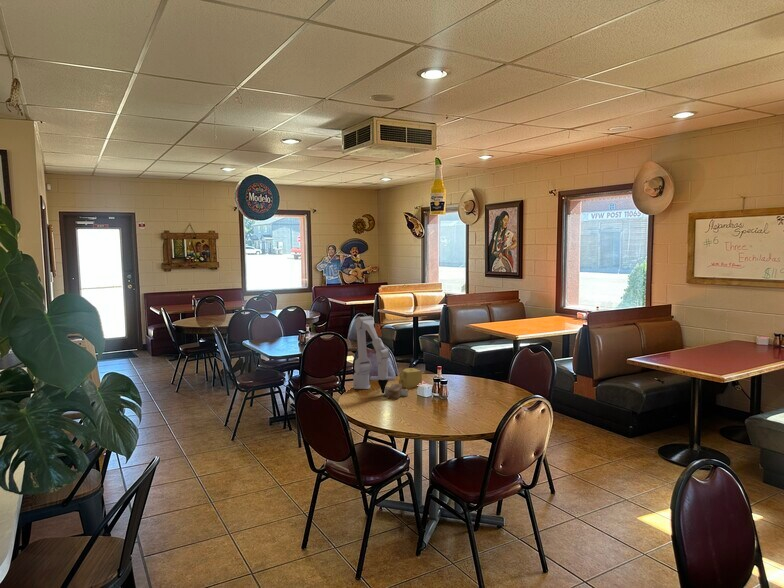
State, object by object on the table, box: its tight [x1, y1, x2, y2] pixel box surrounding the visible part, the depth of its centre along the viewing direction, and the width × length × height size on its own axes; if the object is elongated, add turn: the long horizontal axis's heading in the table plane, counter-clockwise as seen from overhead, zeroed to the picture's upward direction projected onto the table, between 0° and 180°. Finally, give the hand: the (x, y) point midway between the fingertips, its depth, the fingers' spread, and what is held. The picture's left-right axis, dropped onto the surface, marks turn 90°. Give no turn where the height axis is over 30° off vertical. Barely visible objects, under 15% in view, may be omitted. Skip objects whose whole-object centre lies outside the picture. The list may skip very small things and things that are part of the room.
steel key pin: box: [384, 386, 409, 398], centre depth 313 cm, size 13×6×4 cm, turn 84°
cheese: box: [398, 367, 423, 389], centre depth 335 cm, size 10×11×10 cm
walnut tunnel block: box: [387, 383, 403, 400], centre depth 313 cm, size 6×14×5 cm, turn 171°
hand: (383, 392), depth 314 cm, fingers closed
